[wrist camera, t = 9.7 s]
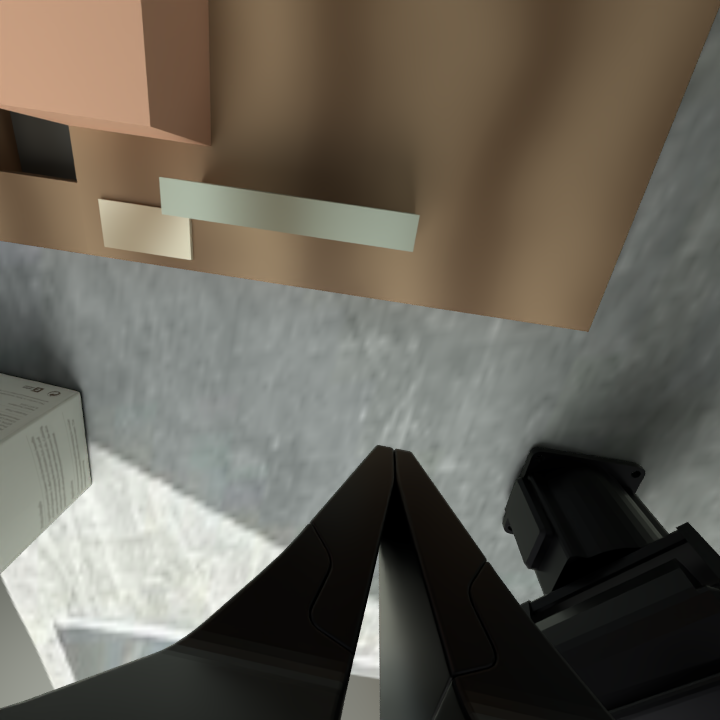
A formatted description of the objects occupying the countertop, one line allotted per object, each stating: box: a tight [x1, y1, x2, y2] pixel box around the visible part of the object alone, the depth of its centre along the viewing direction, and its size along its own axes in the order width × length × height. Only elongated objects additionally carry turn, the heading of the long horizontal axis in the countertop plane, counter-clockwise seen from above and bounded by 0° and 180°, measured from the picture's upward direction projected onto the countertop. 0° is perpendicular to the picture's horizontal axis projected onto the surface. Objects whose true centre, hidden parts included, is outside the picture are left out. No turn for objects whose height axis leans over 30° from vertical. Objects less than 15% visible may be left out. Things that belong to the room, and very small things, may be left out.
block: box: [0, 0, 211, 146], centre depth 12 cm, size 6×6×4 cm
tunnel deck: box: [0, 0, 720, 332], centre depth 13 cm, size 29×16×6 cm, turn 82°
